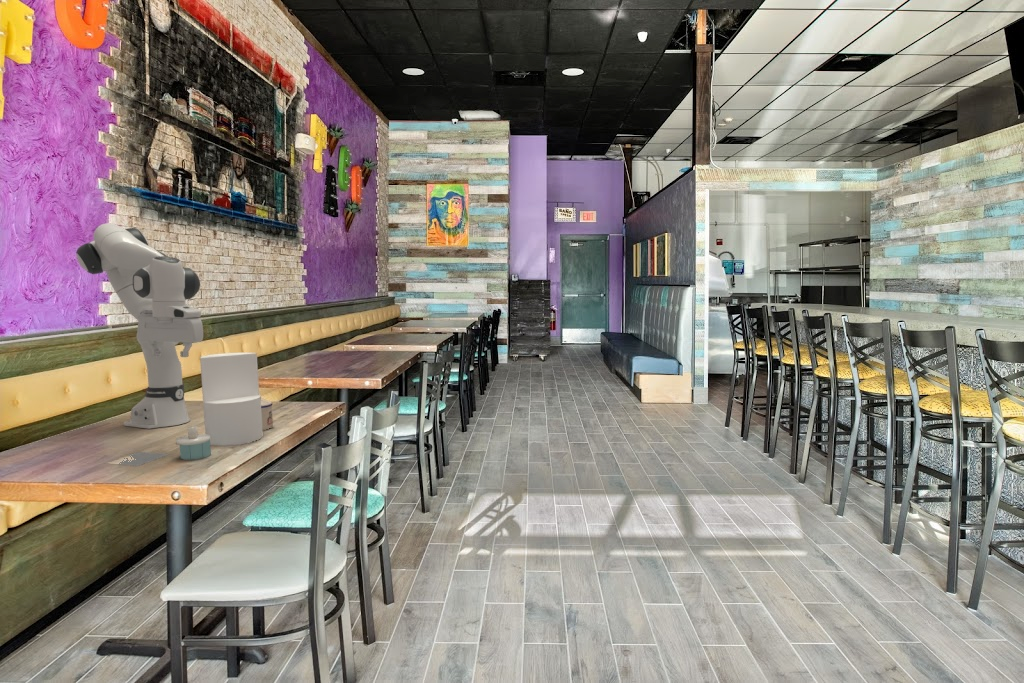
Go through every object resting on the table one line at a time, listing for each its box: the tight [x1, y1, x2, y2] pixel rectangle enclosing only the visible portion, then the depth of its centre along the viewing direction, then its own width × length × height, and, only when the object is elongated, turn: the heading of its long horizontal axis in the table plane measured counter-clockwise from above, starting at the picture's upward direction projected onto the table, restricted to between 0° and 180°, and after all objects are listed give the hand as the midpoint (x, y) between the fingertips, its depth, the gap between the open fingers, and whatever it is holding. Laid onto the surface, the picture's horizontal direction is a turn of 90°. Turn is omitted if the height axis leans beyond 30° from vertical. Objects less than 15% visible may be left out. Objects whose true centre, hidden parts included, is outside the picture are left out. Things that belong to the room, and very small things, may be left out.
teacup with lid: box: [261, 398, 274, 431], centre depth 219 cm, size 12×9×12 cm
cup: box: [179, 440, 212, 461], centre depth 183 cm, size 8×8×5 cm
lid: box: [175, 425, 210, 446], centre depth 182 cm, size 9×9×4 cm
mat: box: [118, 451, 171, 467], centre depth 181 cm, size 12×12×1 cm
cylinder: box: [199, 352, 264, 447], centre depth 202 cm, size 17×17×28 cm
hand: (170, 356), depth 186 cm, fingers open, 8 cm apart
